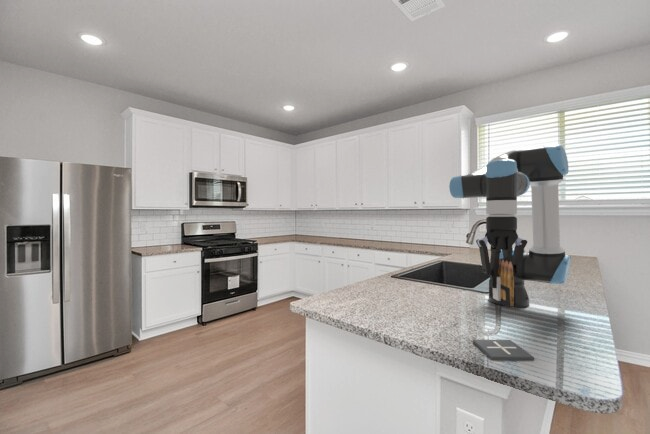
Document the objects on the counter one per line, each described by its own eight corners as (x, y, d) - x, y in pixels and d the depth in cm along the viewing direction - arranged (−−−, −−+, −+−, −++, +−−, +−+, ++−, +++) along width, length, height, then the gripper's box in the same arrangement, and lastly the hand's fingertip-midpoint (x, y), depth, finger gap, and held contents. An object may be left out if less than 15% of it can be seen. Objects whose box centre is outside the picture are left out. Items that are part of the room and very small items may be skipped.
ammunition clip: (488, 296, 91) (488, 256, 91) (494, 296, 91) (494, 256, 91) (508, 307, 81) (508, 262, 81) (516, 307, 81) (515, 262, 81)
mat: (510, 342, 92) (510, 339, 92) (534, 360, 81) (534, 356, 81) (473, 342, 92) (473, 339, 92) (491, 359, 81) (491, 356, 81)
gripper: (520, 215, 89) (520, 295, 90) (468, 216, 90) (468, 295, 90) (537, 215, 82) (537, 303, 82) (480, 216, 82) (480, 303, 83)
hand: (501, 299), depth 86 cm, fingers closed on ammunition clip, 2 cm apart
